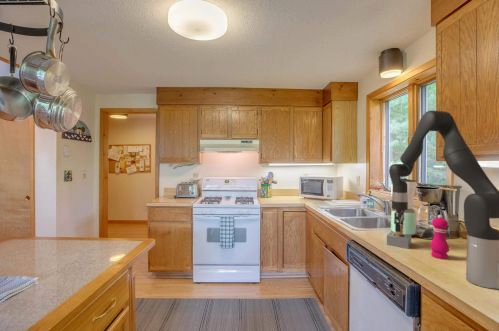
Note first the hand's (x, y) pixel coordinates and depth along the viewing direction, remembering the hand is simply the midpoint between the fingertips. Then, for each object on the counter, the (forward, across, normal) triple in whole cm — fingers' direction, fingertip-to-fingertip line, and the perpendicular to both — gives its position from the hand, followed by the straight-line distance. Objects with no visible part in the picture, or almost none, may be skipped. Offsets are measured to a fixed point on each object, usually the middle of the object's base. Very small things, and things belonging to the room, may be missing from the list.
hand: (399, 230), depth 136 cm
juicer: (+8, +22, +2) cm, 24 cm away
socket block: (+8, 0, 0) cm, 8 cm away
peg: (+7, 0, 0) cm, 7 cm away
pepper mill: (+8, -8, -18) cm, 21 cm away
